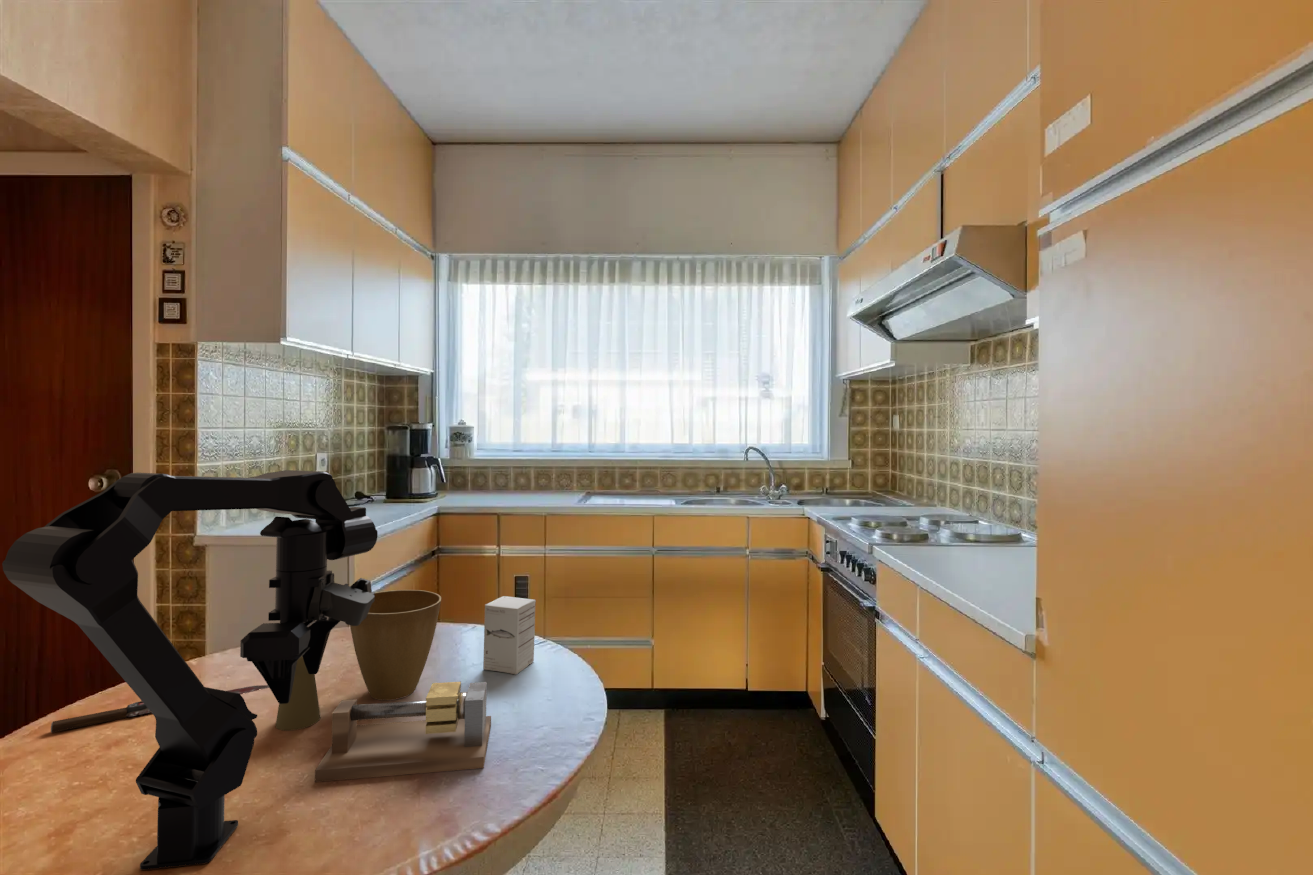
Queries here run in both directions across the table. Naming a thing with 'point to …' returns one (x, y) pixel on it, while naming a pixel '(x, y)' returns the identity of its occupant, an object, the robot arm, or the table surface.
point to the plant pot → (396, 641)
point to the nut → (442, 707)
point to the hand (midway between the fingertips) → (299, 687)
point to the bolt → (468, 705)
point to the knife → (121, 713)
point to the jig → (394, 748)
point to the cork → (300, 702)
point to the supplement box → (509, 634)
